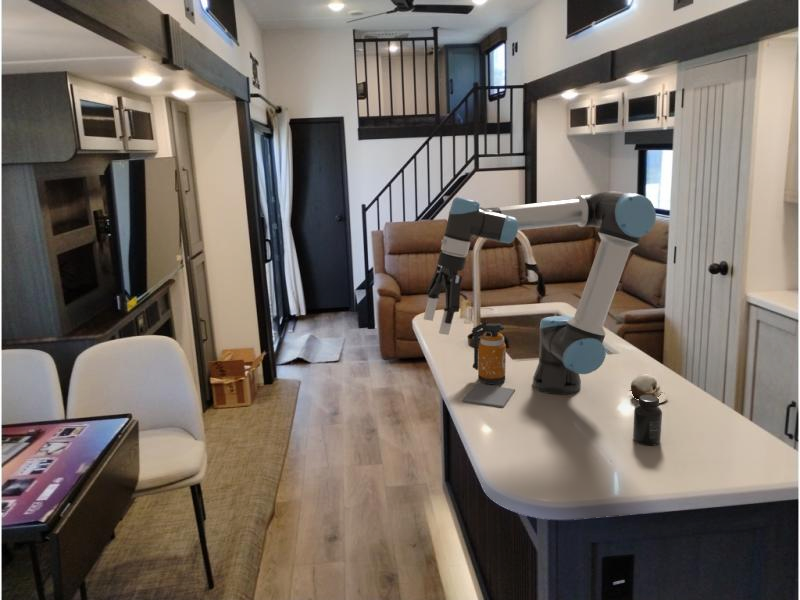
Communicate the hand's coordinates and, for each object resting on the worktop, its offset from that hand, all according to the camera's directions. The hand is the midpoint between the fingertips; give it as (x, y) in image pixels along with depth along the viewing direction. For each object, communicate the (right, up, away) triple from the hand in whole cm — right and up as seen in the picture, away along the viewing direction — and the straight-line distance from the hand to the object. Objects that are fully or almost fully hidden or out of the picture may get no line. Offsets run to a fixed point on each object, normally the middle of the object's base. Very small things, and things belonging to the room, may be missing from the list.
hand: (435, 326), depth 178 cm
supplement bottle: (+55, -30, -11) cm, 64 cm away
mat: (+18, -23, +20) cm, 35 cm away
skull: (+66, -23, +16) cm, 72 cm away
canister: (+20, -20, +33) cm, 43 cm away
